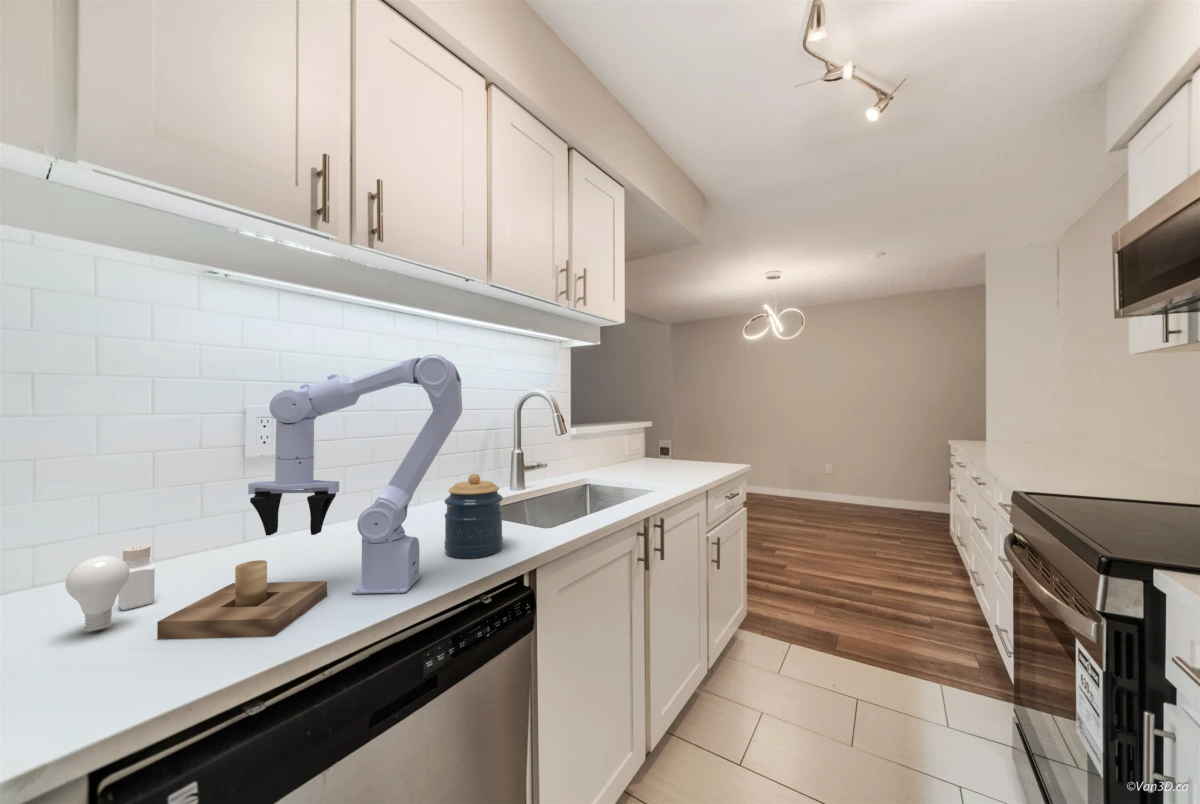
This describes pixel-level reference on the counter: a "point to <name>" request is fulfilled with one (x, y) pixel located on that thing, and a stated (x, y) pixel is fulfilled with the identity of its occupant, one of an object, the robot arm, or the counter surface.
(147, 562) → the salt shaker
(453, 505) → the canister
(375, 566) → the robot arm
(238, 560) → the counter surface
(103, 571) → the lightbulb
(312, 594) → the socket board
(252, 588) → the peg
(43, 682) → the counter surface
